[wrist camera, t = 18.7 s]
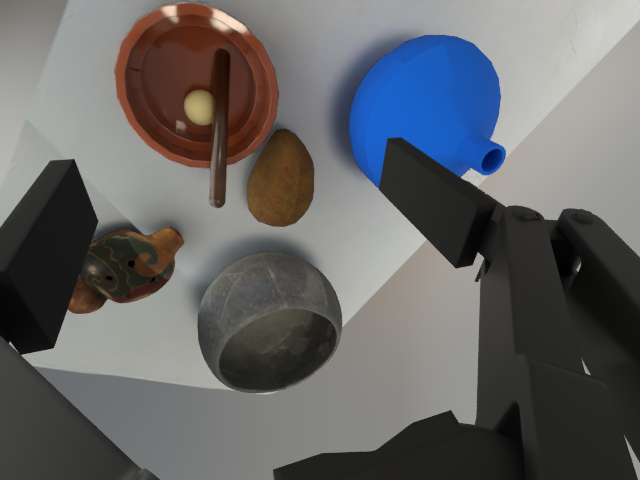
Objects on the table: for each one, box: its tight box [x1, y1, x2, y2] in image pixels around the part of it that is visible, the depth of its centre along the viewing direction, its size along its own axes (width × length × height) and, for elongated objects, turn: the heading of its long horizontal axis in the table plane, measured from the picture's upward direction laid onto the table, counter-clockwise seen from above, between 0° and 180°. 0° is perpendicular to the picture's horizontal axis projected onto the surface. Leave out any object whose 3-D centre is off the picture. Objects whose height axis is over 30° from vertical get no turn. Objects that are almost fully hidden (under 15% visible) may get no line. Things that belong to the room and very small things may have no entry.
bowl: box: [198, 252, 342, 393], centre depth 51 cm, size 20×20×15 cm
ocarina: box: [68, 227, 184, 314], centre depth 43 cm, size 10×15×8 cm, turn 117°
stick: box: [209, 49, 231, 208], centre depth 36 cm, size 2×2×17 cm
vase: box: [349, 35, 506, 188], centre depth 39 cm, size 18×18×19 cm
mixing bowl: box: [114, 1, 279, 168], centre depth 35 cm, size 15×15×6 cm
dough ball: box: [184, 90, 213, 125], centre depth 37 cm, size 4×4×4 cm
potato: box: [247, 129, 314, 227], centre depth 43 cm, size 8×12×9 cm
